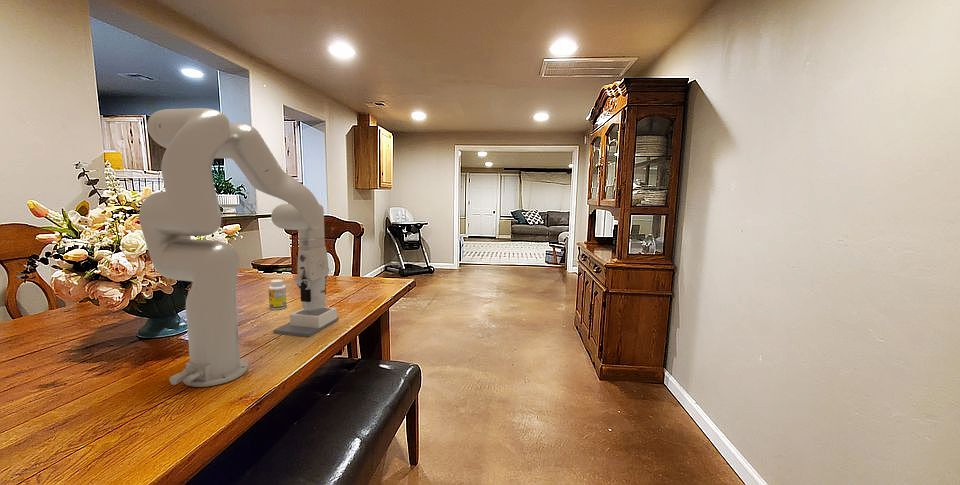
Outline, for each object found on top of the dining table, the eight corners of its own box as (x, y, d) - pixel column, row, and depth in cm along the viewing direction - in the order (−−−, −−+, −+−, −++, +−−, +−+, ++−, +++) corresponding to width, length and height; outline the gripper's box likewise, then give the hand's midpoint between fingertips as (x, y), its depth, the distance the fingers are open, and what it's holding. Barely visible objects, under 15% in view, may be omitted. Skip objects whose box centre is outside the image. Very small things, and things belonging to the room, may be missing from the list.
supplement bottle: (269, 306, 144) (268, 279, 142) (286, 305, 146) (285, 278, 145) (269, 311, 139) (268, 282, 137) (286, 309, 141) (285, 281, 140)
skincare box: (306, 311, 122) (305, 273, 120) (301, 308, 125) (300, 270, 124) (326, 307, 126) (325, 270, 125) (320, 304, 129) (319, 268, 128)
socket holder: (308, 337, 116) (308, 322, 115) (273, 333, 118) (272, 318, 117) (338, 320, 131) (338, 307, 131) (306, 316, 134) (306, 304, 133)
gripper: (304, 247, 114) (307, 307, 116) (338, 240, 131) (339, 292, 133) (282, 246, 115) (284, 304, 118) (317, 239, 132) (319, 290, 134)
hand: (313, 297), depth 125 cm, fingers closed on skincare box, 7 cm apart
